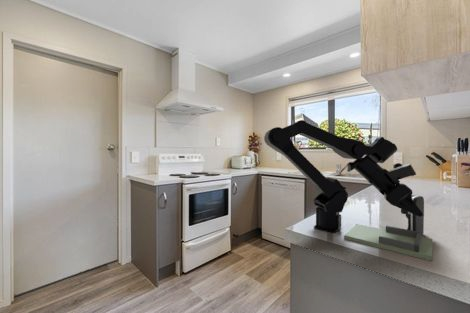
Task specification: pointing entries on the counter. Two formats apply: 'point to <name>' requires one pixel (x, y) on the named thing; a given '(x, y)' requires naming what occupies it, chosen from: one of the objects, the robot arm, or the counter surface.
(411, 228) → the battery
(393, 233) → the mounting plate
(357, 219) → the counter surface
